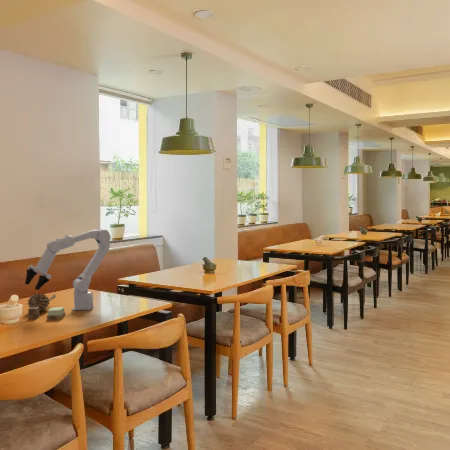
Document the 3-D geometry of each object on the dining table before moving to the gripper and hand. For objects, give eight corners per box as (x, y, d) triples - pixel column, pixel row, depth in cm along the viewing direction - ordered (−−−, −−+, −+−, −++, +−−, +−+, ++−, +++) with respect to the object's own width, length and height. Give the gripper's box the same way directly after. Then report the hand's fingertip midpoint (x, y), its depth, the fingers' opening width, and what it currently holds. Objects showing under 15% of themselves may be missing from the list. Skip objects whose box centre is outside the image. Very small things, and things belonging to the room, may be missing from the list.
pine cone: (41, 315, 244) (40, 295, 243) (23, 314, 245) (22, 295, 244) (62, 305, 265) (61, 287, 265) (45, 304, 267) (45, 286, 266)
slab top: (64, 312, 241) (63, 307, 240) (60, 315, 235) (60, 310, 234) (51, 312, 240) (51, 307, 240) (48, 315, 234) (47, 310, 234)
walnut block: (39, 316, 240) (39, 306, 240) (37, 318, 236) (36, 308, 236) (31, 317, 240) (30, 307, 240) (28, 319, 236) (28, 309, 236)
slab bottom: (65, 316, 242) (65, 311, 242) (61, 320, 235) (61, 315, 235) (51, 317, 241) (50, 312, 241) (46, 320, 234) (46, 315, 234)
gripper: (30, 255, 245) (16, 279, 242) (49, 264, 239) (35, 290, 236) (39, 259, 251) (26, 283, 248) (58, 268, 245) (45, 293, 242)
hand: (31, 286), depth 242 cm, fingers open, 7 cm apart
